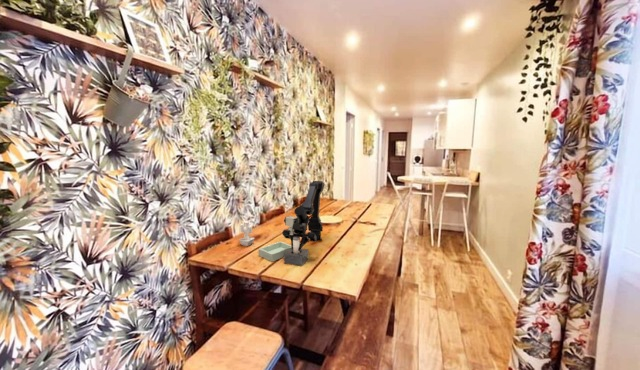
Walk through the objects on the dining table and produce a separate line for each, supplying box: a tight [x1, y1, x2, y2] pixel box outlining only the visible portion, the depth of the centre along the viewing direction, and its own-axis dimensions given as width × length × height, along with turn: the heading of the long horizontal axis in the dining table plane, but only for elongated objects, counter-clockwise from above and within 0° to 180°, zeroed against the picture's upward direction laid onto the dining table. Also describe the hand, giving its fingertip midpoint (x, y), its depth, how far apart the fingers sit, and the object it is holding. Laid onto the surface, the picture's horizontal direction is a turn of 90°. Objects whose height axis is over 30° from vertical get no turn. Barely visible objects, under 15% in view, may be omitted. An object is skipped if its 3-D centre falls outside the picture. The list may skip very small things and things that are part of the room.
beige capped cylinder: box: [293, 236, 301, 254], centre depth 139 cm, size 4×4×13 cm
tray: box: [258, 241, 291, 262], centre depth 148 cm, size 16×12×4 cm
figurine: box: [238, 220, 256, 247], centre depth 162 cm, size 7×9×15 cm
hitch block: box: [283, 248, 309, 267], centre depth 140 cm, size 10×10×5 cm
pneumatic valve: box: [283, 215, 299, 233], centre depth 188 cm, size 6×12×12 cm, turn 53°
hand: (295, 249), depth 138 cm, fingers closed on beige capped cylinder, 4 cm apart
